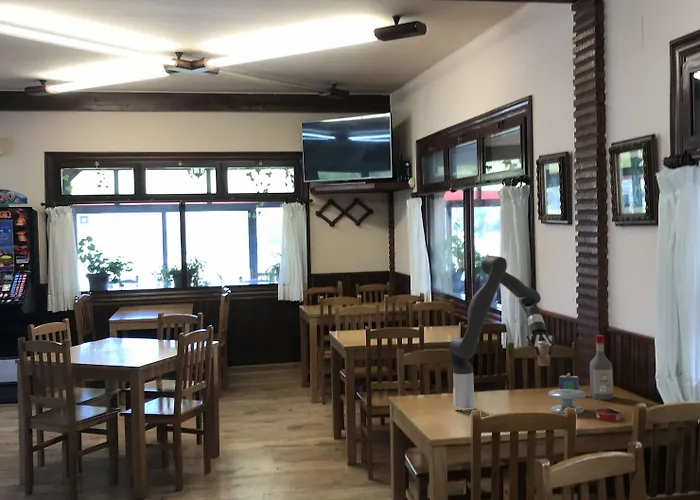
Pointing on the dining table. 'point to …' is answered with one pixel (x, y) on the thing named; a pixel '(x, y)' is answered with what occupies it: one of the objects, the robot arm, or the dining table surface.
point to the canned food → (608, 414)
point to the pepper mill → (543, 353)
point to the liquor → (601, 373)
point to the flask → (568, 382)
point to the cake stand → (567, 399)
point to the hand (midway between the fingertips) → (544, 354)
